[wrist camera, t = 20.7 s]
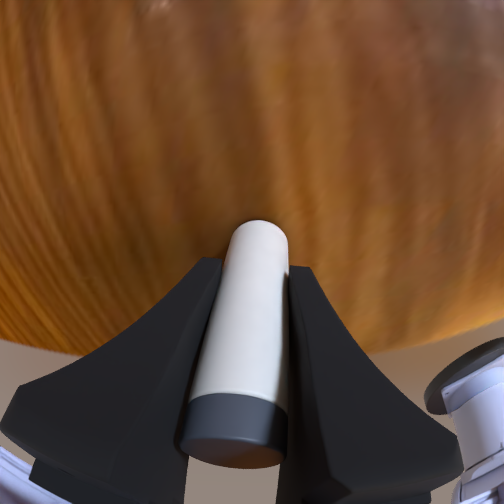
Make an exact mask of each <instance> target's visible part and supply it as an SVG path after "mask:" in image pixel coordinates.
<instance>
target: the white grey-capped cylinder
mask: <svg viewBox="0 0 504 504" xmlns="http://www.w3.org/2000/svg"><path fill="white" fill-rule="evenodd" d="M288 275H289V273H288V243H287V239H286V236H285V234H284V233H283V232H282V230H281V229H280V228H278V227H277V226H276V225H274V224H272V223H270V222H267V221H261V220H255V221H250V222H247V223H244V224H242V225H241V226H239V227H238V228H237V229H236V230H235V232H234V233H233V235H232V238H231V241H230V244H229V248H228V251H227V255H226V259H225V262H224V266H223V269H222V274H221V278H220V282H219V285H218V289H217V293H216V296H215V299H214V303H213V306H212V310H211V314H210V317H209V321H208V325H207V329H206V333H205V336H204V340H203V344H202V348H201V352H200V356H199V360H198V364H197V368H196V371H195V375H194V379H193V383H192V387H191V391H190V395H189V399H188V405H187V408H186V412H185V416H184V420H183V424H182V428H181V433H180V437H179V441H178V444H179V447H180V449H181V450H182V451H183V452H185V453H186V454H188V455H189V456H191V457H193V458H196V459H198V460H200V461H203V462H206V463H209V464H213V465H218V466H223V467H229V468H238V469H258V468H267V467H271V466H275V465H278V464H280V463H282V462H284V461H285V459H286V457H287V446H288V411H289V304H288Z"/></svg>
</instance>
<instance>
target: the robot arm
mask: <svg viewBox="0 0 504 504" xmlns="http://www.w3.org/2000/svg"><path fill="white" fill-rule="evenodd" d="M221 274H222V259H216V258H206V257H203V258H201V259H200V260H199V261H198V262H197V263H196V264H195V266H194V267H193V268H192V269H191V270H190V271H189V272H188V273H187V274H186V275H185V276H184V277H183V278H182V279H181V280H180V282H179V283H178V284H177V285H176V286H175V287H173V288H172V289H171V290H170V291H169V292H168V293H167V294H166V295H165V296H164V297H163V298H162V299H161V300H160V301H159V302H158V303H157V304H156V305H155V306H153V307H152V308H151V309H150V310H149V311H148V312H147V313H146V314H144V315H143V316H142V317H141V318H140V319H138V320H137V321H136V322H135V323H133V324H132V325H131V326H130V327H128V328H127V329H126V330H124V331H123V332H122V333H120V334H119V335H117V336H116V337H115V338H113V339H112V340H110V341H109V342H107V343H105V344H104V345H102V346H101V347H99V348H98V349H96V350H94V351H93V352H91V353H90V354H88V355H86V356H84V357H83V358H81V359H79V360H77V361H75V362H73V363H72V364H69V365H67V366H65V367H63V368H61V369H60V370H57V371H55V372H53V373H51V374H48V375H46V376H43V377H41V378H38V379H36V380H34V381H31V382H29V383H26V384H23V385H20V386H19V387H18V389H17V390H16V392H15V394H14V396H13V398H12V400H11V402H10V404H9V406H8V408H7V410H6V412H5V414H4V416H3V418H2V420H1V422H0V430H1V432H2V433H3V434H4V435H5V436H6V437H8V438H9V439H10V440H11V441H13V442H14V443H15V444H17V445H18V446H19V447H21V448H22V449H23V450H25V451H26V452H27V453H29V454H30V455H32V456H33V457H35V458H36V459H35V462H34V464H33V467H32V466H31V465H29V464H27V463H26V462H24V461H23V460H21V459H19V458H17V457H16V456H15V455H13V454H12V453H10V452H9V451H7V450H6V449H4V448H3V447H1V446H0V504H184V494H185V484H186V475H187V467H188V460H189V455H188V454H186V453H185V452H183V451H182V450H181V449H180V447H179V444H178V441H179V437H180V433H181V428H182V424H183V420H184V416H185V412H186V408H187V405H188V399H189V395H190V391H191V387H192V383H193V379H194V375H195V371H196V368H197V364H198V360H199V356H200V352H201V348H202V344H203V340H204V336H205V333H206V329H207V325H208V321H209V317H210V314H211V310H212V306H213V303H214V299H215V296H216V293H217V289H218V285H219V282H220V278H221ZM288 304H289V411H288V446H287V457H286V459H285V461H284V462H282V463H280V470H279V479H278V489H277V496H276V504H429V503H431V493H430V491H432V490H434V489H436V488H438V487H440V486H442V485H444V484H446V483H448V482H450V481H452V480H454V479H455V478H457V477H458V476H460V477H461V479H460V480H459V481H458V482H457V484H456V486H455V488H454V490H453V493H452V499H451V504H504V354H503V355H501V356H500V357H498V358H496V359H495V360H493V361H491V362H490V363H488V364H486V365H485V366H483V367H481V368H480V369H478V370H476V371H474V372H473V373H471V374H469V375H467V376H465V377H463V378H462V379H460V380H458V381H456V382H454V383H452V384H450V385H448V386H446V387H444V388H443V389H442V390H441V394H442V397H443V400H444V403H445V406H446V410H447V413H448V416H449V418H453V421H454V425H455V429H456V433H457V436H456V435H455V434H454V433H452V432H451V431H449V430H448V429H446V428H445V427H444V426H442V425H441V424H440V423H438V422H437V421H435V420H434V419H433V418H431V417H430V416H429V415H427V414H426V413H425V412H423V411H422V410H421V409H420V408H419V407H418V406H417V405H415V404H414V403H413V402H412V401H411V400H409V399H408V398H407V397H406V396H405V395H404V394H403V393H402V392H401V391H400V390H399V389H398V388H397V387H396V386H395V385H394V384H393V383H392V382H390V380H389V379H388V378H387V377H386V376H385V375H384V374H383V373H382V372H381V371H380V370H379V369H378V368H377V367H376V366H375V365H374V363H373V362H372V361H371V360H370V359H369V358H368V356H367V355H366V354H365V353H364V352H363V350H362V349H361V348H360V346H359V345H358V344H357V343H356V341H355V340H354V339H353V337H352V336H351V334H350V333H349V331H348V330H347V329H346V327H345V326H344V324H343V323H342V321H341V320H340V318H339V317H338V315H337V314H336V312H335V310H334V309H333V307H332V306H331V304H330V302H329V301H328V299H327V297H326V296H325V294H324V292H323V290H322V289H321V287H320V285H319V283H318V281H317V279H316V277H315V275H314V274H313V272H312V270H311V269H310V267H302V266H291V265H290V269H289V275H288ZM457 437H458V439H457ZM458 441H459V442H458ZM459 445H460V446H459ZM464 469H465V472H464V473H462V472H463V471H464Z"/></svg>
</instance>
